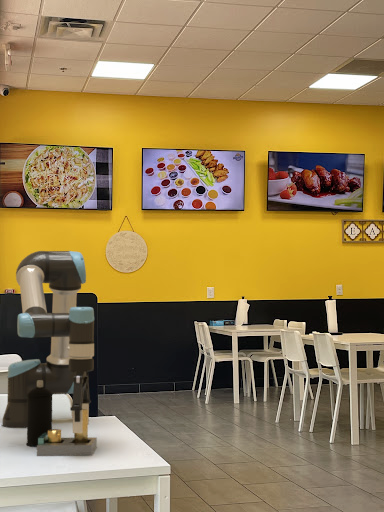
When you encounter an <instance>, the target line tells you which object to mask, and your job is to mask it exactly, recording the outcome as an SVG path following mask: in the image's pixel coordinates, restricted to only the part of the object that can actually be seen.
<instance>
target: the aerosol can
mask: <svg viewBox="0 0 384 512" xmlns="http://www.w3.org/2000/svg"><path fill="white" fill-rule="evenodd" d="M53 395H54V394H53V393H51V391H50V390H49V389H47V388H44V387H43V380H38V381H37V387H36V388H34V389H32V390H31V391H30V392H29V393H28V394H27V427H26V443H25V445H26V446H27V447H32V448H37V445H38V438H39V437H40V436H41V435H42V434H43V433H48V430H51V429H53Z"/></svg>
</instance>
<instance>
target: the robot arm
mask: <svg viewBox="0 0 384 512" xmlns="http://www.w3.org/2000/svg"><path fill="white" fill-rule="evenodd" d="M83 255H84V254H82V252H79V251H71V250H38V251H34V252H31V253H30V254H28V255H26V256H24V258H23V259H22V260H21V261H20V263H19V264H18V266H17V268H16V272H15V280H16V283H17V284H18V286H19V287H20V289H19V291H20V297H21V299H20V301H21V308H22V310H21V311H22V313H19V314H18V315H17V323H16V324H17V335H18V337H20V338H30V339H32V338H50V339H51V340H50V342H51V343H50V354H49V355H48V356H47V357H46V362H44V363H43V362H42V363H41V359H39V358H38V359H37V358H35V359H26V360H20V361H16V362H13V363H11V364H9V366H8V368H7V376H6V377H7V405H6V407H5V411H4V413H3V417H2V424H3V425H4V426H3V425H2V426H3V427H5V426H7V427H6V428H13V429H14V428H27V394H28V393H29V392H30V391H31V390H32V389H34V388H36V387H37V381H38V380H43V387H44V388H47V389H49V390H50V391H51V393H53V395H68V394H72V404H71V407H70V409H69V410H70V411H72V433H73V434H74V433H82V428H83V410H82V409H87V410H88V426H89V425H90V423H89V419H90V418H89V414H90V413H89V411H90V408H89V407H90V403H92V399H90V398H91V397H90V386H89V372H92V371H94V370H95V364H94V363H95V361H94V358H93V357H94V356H95V340H94V339H95V337H94V336H95V311H94V308H93V307H91V306H77V294H78V292H79V291H80V290H81V289H82V285H84V284H86V283H87V272H86V265H85V264H86V263H85V259H84V256H83ZM43 284H48V288H49V290H50V291H51V292H52V312H48V311H47V304H46V298H45V297H46V296H45V292H44V286H43Z"/></svg>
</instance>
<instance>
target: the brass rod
mask: <svg viewBox="0 0 384 512" xmlns="http://www.w3.org/2000/svg"><path fill="white" fill-rule="evenodd" d="M82 410H83V428H82V433H73V434H74V436H73V438H74V443H88V438H89V437H88V436H89V434H88V433H89V431H88V430H89V428H88V427H89V425H88V410H87V409H82Z"/></svg>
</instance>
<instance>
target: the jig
mask: <svg viewBox="0 0 384 512" xmlns="http://www.w3.org/2000/svg"><path fill="white" fill-rule="evenodd" d="M97 439H98V438H97V437H88V443H74V437H62V429H59V428H54V429H53V428H52V429H51V430H48V433H43V434H42V435H41V436H40V437H39V438H38V445H37V447H36V456H37V457H45V456H46V457H57V456H58V457H61V456H63V457H66V456H72V457H73V456H76V457H77V456H82V457H83V456H93V454H94V453H95V451H96V449H97V443H98V441H97Z"/></svg>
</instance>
